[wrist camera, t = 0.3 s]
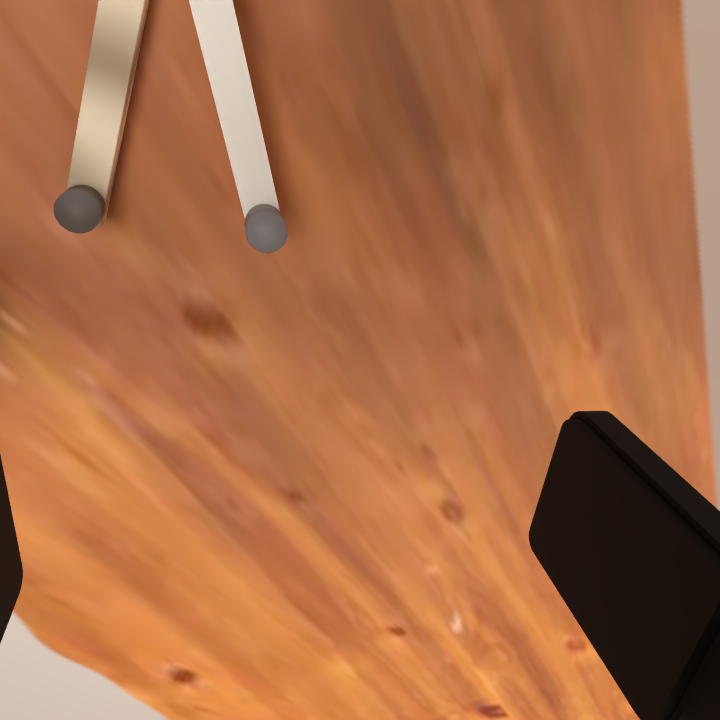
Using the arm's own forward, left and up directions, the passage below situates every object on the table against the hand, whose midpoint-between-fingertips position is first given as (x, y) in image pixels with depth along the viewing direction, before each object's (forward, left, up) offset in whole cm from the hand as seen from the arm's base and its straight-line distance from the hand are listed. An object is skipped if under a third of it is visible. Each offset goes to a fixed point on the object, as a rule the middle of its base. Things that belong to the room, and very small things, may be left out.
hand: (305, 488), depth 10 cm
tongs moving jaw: (-6, -1, -27) cm, 28 cm away
